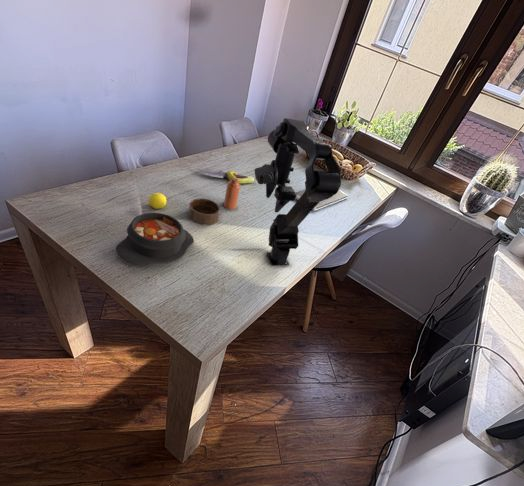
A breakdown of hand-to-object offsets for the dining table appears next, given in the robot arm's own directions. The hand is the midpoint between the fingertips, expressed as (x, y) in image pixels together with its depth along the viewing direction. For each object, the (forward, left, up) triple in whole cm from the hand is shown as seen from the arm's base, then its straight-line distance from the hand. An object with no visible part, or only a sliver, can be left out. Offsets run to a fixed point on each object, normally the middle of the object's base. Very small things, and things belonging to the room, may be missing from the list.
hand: (271, 204), depth 125 cm
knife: (+40, +5, -12) cm, 42 cm away
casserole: (-9, +39, -12) cm, 42 cm away
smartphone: (+27, -37, -12) cm, 48 cm away
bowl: (+9, +20, -12) cm, 26 cm away
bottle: (+17, +9, -12) cm, 23 cm away
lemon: (+15, +36, -12) cm, 41 cm away
